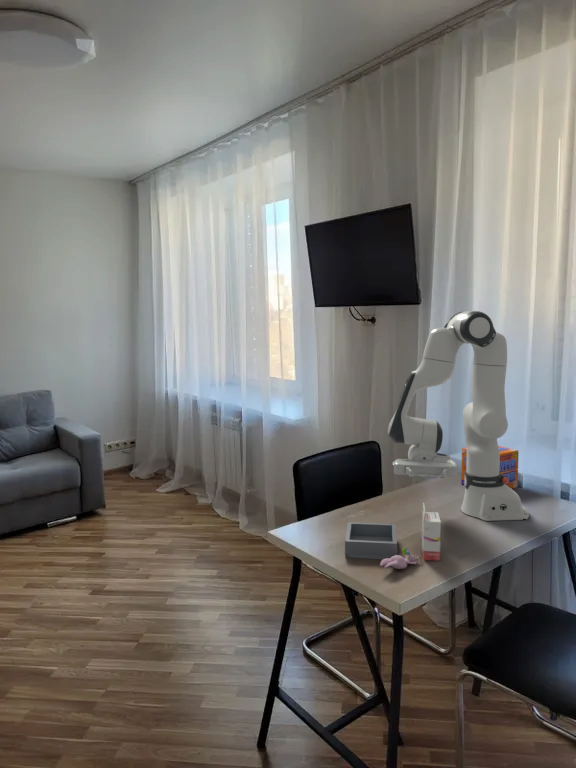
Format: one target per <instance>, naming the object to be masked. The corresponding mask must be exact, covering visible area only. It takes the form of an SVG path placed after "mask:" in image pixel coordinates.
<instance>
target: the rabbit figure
mask: <svg viewBox="0 0 576 768" xmlns="http://www.w3.org/2000/svg"><path fill="white" fill-rule="evenodd" d="M407 548H408V547H404V548H402V551H401V552H402V554H403V555H404V556H405V558H404V556H402V555H398V554H397V555H395V556H393V557H391V558H386V559H381V561H380V564H379V566H380V567H383V566H384V569H385V568H389V567H392V568H394V569H397V570H402V569H403V570H404V569H406V568H407V567H408V565H417V564H418V563H419V561H420V563H421V562H423V560H422V559H423V557H422V556H423V555H421V556H417V557H416V553H410V551H408V550H407Z"/></svg>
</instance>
